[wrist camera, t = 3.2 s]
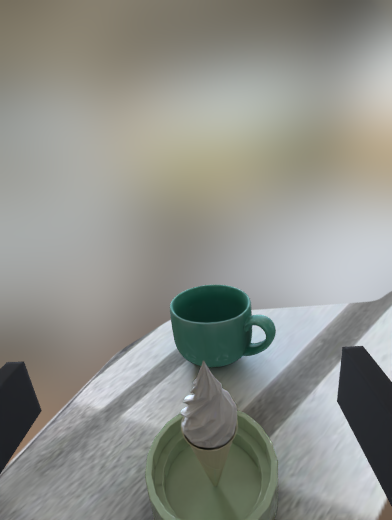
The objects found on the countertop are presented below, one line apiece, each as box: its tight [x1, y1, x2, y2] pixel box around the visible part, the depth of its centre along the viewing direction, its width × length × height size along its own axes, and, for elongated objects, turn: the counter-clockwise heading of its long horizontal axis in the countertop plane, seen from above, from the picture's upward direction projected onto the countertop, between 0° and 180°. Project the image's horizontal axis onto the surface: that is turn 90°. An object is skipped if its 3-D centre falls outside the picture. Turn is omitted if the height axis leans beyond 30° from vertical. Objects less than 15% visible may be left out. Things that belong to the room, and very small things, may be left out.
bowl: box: [145, 410, 278, 520], centre depth 28 cm, size 12×12×4 cm
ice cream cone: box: [180, 361, 238, 487], centre depth 26 cm, size 5×5×15 cm
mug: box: [170, 285, 276, 367], centre depth 45 cm, size 17×13×10 cm
